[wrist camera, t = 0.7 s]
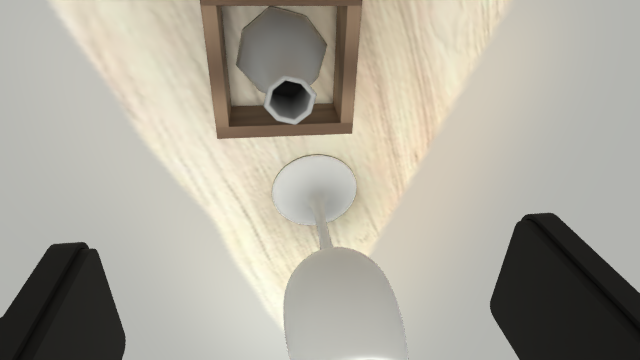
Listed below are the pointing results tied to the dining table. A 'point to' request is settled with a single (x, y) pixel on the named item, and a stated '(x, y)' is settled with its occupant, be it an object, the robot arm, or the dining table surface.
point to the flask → (282, 62)
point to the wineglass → (334, 274)
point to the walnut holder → (257, 117)
